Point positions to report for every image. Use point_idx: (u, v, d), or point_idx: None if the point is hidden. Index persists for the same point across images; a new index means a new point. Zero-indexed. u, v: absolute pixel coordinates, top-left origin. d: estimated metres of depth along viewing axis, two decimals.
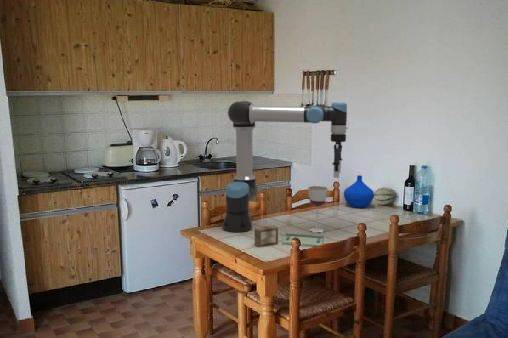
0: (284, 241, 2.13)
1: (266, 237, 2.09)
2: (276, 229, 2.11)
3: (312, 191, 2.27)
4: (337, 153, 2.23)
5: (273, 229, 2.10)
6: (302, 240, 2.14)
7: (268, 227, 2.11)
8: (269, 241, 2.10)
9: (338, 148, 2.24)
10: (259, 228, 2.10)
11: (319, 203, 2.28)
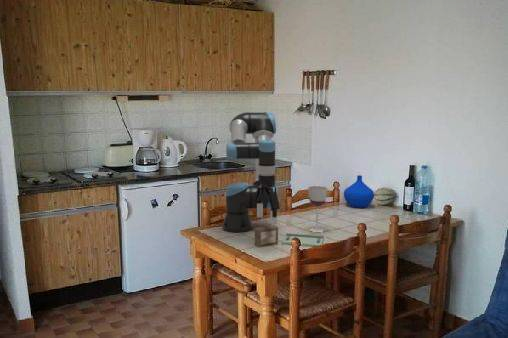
0: (284, 241, 2.13)
1: (266, 237, 2.09)
2: (276, 229, 2.11)
3: (312, 191, 2.27)
4: (275, 197, 2.01)
5: (273, 229, 2.10)
6: (302, 240, 2.14)
7: (268, 227, 2.11)
8: (269, 241, 2.10)
9: (275, 191, 2.02)
10: (259, 228, 2.10)
11: (319, 203, 2.28)
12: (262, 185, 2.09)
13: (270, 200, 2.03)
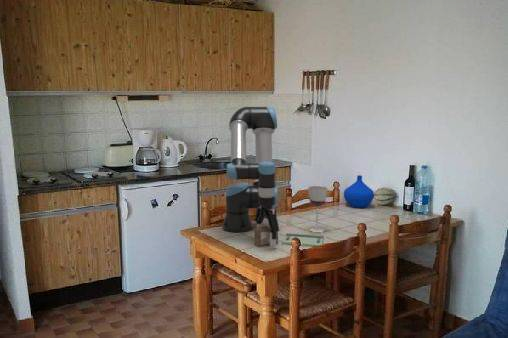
0: (284, 241, 2.13)
1: (266, 237, 2.09)
2: None
3: (312, 191, 2.27)
4: (275, 219, 2.03)
5: None
6: (302, 240, 2.14)
7: (268, 227, 2.11)
8: (269, 241, 2.10)
9: (274, 214, 2.03)
10: (259, 228, 2.10)
11: (319, 203, 2.28)
12: (262, 206, 2.10)
13: (270, 222, 2.05)
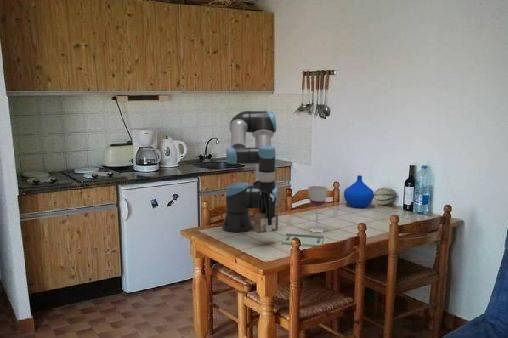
0: (284, 241, 2.13)
1: None
2: (276, 215, 2.10)
3: (312, 191, 2.27)
4: (273, 207, 2.04)
5: None
6: (302, 240, 2.14)
7: None
8: None
9: (274, 201, 2.04)
10: (259, 214, 2.09)
11: (319, 203, 2.28)
12: (262, 189, 2.10)
13: (267, 208, 2.06)
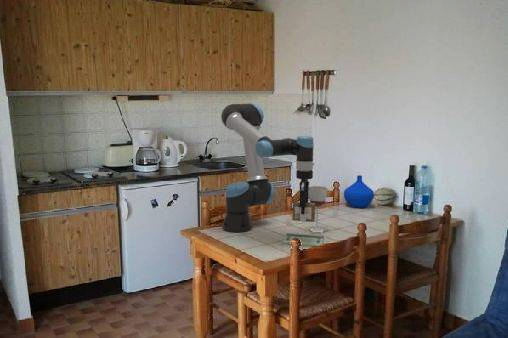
0: (284, 241, 2.13)
1: None
2: (312, 206, 2.10)
3: (312, 191, 2.27)
4: (303, 196, 2.06)
5: (309, 206, 2.10)
6: (302, 240, 2.14)
7: (306, 203, 2.12)
8: None
9: (303, 190, 2.05)
10: (296, 202, 2.14)
11: (319, 203, 2.28)
12: None
13: None
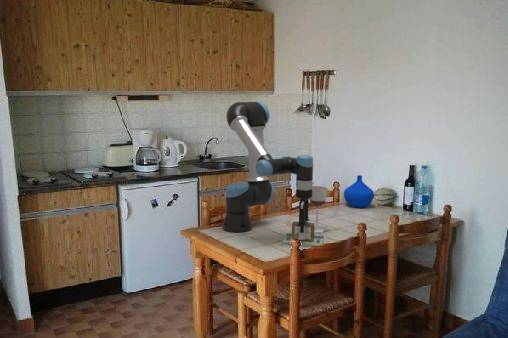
0: (284, 241, 2.13)
1: None
2: (311, 226, 2.11)
3: (312, 191, 2.27)
4: (302, 214, 2.07)
5: (308, 226, 2.12)
6: None
7: (305, 223, 2.14)
8: None
9: (303, 209, 2.06)
10: (296, 222, 2.15)
11: (319, 203, 2.28)
12: None
13: None
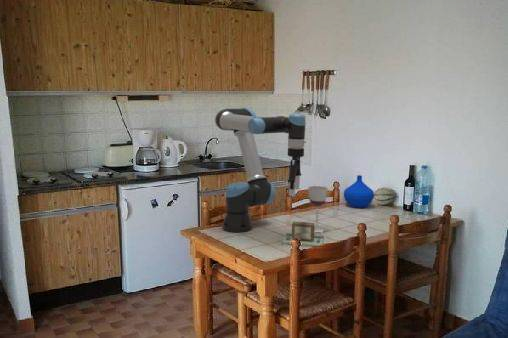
0: (284, 241, 2.13)
1: (300, 232, 2.13)
2: (311, 226, 2.11)
3: (312, 191, 2.27)
4: (293, 170, 2.06)
5: (308, 226, 2.12)
6: None
7: (305, 223, 2.14)
8: (303, 237, 2.13)
9: (294, 164, 2.06)
10: (296, 222, 2.15)
11: (319, 203, 2.28)
12: None
13: None
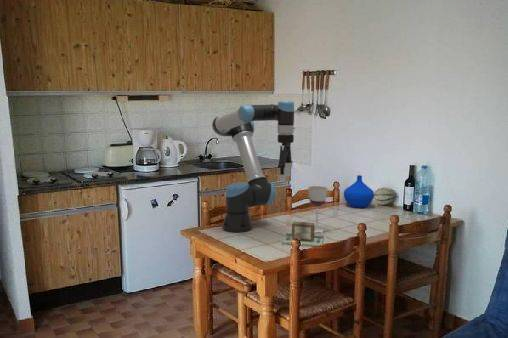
0: (284, 241, 2.13)
1: (300, 232, 2.13)
2: (311, 226, 2.11)
3: (312, 191, 2.27)
4: (282, 155, 2.08)
5: (308, 226, 2.12)
6: None
7: (305, 223, 2.14)
8: (303, 237, 2.13)
9: (284, 150, 2.09)
10: (296, 222, 2.15)
11: (319, 203, 2.28)
12: None
13: None
